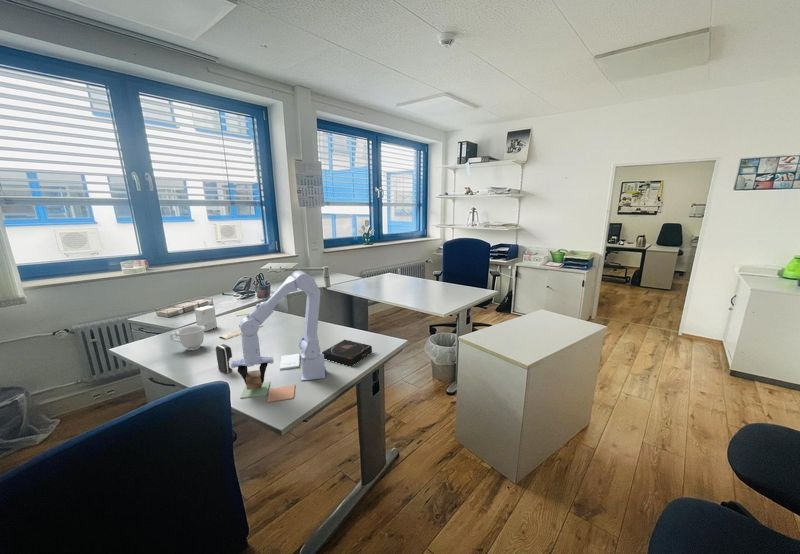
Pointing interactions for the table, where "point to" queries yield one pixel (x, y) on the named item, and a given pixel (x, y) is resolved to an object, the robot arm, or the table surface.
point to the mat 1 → (255, 391)
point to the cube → (253, 380)
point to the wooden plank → (234, 333)
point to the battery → (223, 357)
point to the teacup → (190, 337)
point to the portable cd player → (347, 352)
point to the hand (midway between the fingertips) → (255, 382)
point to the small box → (206, 317)
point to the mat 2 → (281, 393)
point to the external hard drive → (290, 361)
